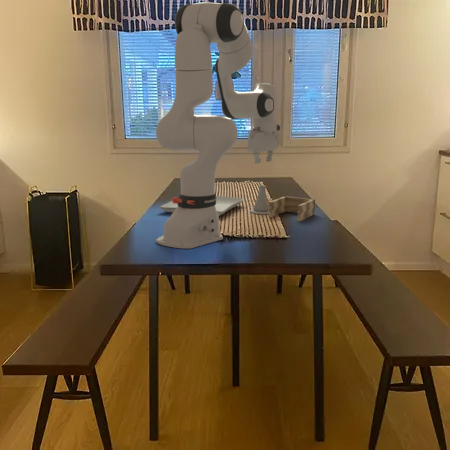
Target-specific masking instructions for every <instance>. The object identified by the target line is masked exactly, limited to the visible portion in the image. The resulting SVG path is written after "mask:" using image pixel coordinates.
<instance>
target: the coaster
mask: <svg viewBox="0 0 450 450" xmlns="http://www.w3.org/2000/svg"><path fill="white" fill-rule="evenodd" d="M249 211H250V213H251V214H254V215H269V211H254V210H253V208H251V209H250V210H249Z"/></svg>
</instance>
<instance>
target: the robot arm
mask: <svg viewBox="0 0 450 450" xmlns="http://www.w3.org/2000/svg"><path fill="white" fill-rule="evenodd" d="M174 16H175V17H174V28H175V31H176V35H177V36H176V38H175V39H176V40H175V46H174V47H175V51H174V69H175V73H174V74H175V96H174V101H173V104H172V106H171V108H170V110H169V111H168V112H167V113H166V114H165V115H164V116H163V117H161V119H160V120H159V121H158V123H157V125H156V129H155V136H156V140H157V142H158V144H159V145H160V146H161V147H162V148H163V149H167V150H173V151H189V152H192V151H193V152H195V151H196V152H198V155H197V158H196V159H195V160H192V161H191V162H188V163H186V164H184V166H183V167H182V168H181V170H180V176H179V178H180V192H179V195H178V197H177V196H176V197H175V196H174V197H172V199H171V201H172V202H173V203H177V205H178V207H177V208H176V210H175V211H174V212H173V213H171V215H170V216H169V217H168V218H167V220H166V221H165V222H164V225H163V235H161V236H159V237H158V238H156V241H155V242H156V243H157V244H159V245H161V246H166V247H170V248H175V249H187V250H188V249H194V248H198V247H200V246H204V245H207V244H211V243H214V242H215V243H216V242H218V241H220V240H221V241H222V240H223V239H224V236H223V235H222V234H221V226H220V217H219V216H218V213H217V211H216V208H215V205H216V196H217V195H216V194H217V193H216V191H215V190H216V189H215V187H216V186H215V185H216V184H215V182H216V172H217V167H218V165H219V162H220V160H221V159H222V157H223V156H224V155H225V154H226V153H227V152H228V151H229V150H231V149H232V148H233V147H234V146H235V145H236V142H237V140H238V136H239V131H238V127H237V124H236V123H235V121H234V120H240V119H251V120H252V127H251V130H250V132H249V134H248V137H247V148H246V149H247V151H248V153H253V154H252V155H253V156H252V157H253V158H254V164H256V165H259V164H261V160H262V159H261V158H260V153H261V152H267V155H266V158H265V160H266V162H269V163H270V162H272V160H273V156H274V151H275V150H276V151H277V150H278V149H279V147H280V140H281V138H280V137H281V135H280V131H281V130H282V128H281V127H282V126H281V125H280V124H279V123H278V122H276V119H277V118H276V108H277V97H276V96H277V94H276V87H275V85H273V84H272V83H267V82H258V83H256V84H255V86H254V90H252V91H236V90H235V88H234V83H233V79H232V74H234V73H235V72H238V71H241V70H243V69H244V68H245V67H246V66H247V65H248V64H249V62H250V61H251V59H252V57H253V54H254V51H253V50H254V48H253V43H252V39H251V37H250V33H249V30H248V28H247V26H246V24H245V21H244V19H245V18H244V14H243V12H242V10H241V9H240V8H239V7H238V5H235V4H232V3H229V2H224V3H219V2H209V1H206V2H205V1H204V2H198V3H196V2H195V3H186V4H184V5H182V6H180V7H179V8H178V9H177V11H176V14H175V15H174ZM214 43H215V44H216V47H217V50H218V53H219V55H218V57H217V58H216V61H215V72H216V78H217V85H218V88H219V94H220V98H221V99H220V100H221V110H222V113H223V114H224V116H222V115H217V114H216V115H215V114H214V115H213V114H212V115H210V114H209V115H207V114H206V115H205V114H204V115H199V114H198V115H197V114H195V108H197V107H199V106H200V105H202V104H204V103H206V102H207V101H208V100H210V99H211V98H212V95H213V93H214V89H213V86H214V82H213V79H214V78H213V61H212V51H211V44H214Z"/></svg>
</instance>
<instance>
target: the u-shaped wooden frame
mask: <svg viewBox="0 0 450 450" xmlns="http://www.w3.org/2000/svg"><path fill="white" fill-rule="evenodd" d="M268 203H269V214H268V218H273V217H276V216H278V215H280V214H283V213H285V212H289V213H296V214H297V215H296V216H297V220H296V221H297V222H302V221H304V220H306V219H308V218H310V217H312V216H314V215H315V208H316V199H314V198H312V199H311V198H303V197H295V196H287V195H285V196H281V197H280V198H276V199H273V200H271V201H268Z"/></svg>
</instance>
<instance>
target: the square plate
mask: <svg viewBox="0 0 450 450" xmlns="http://www.w3.org/2000/svg"><path fill="white" fill-rule="evenodd" d="M244 200H245V198H241V197H233V196H223V195H216V205H215V208H216V211H217V213H218V216H223V215H224V214H225V213H227V212H229V211H230V210H231V209H233V208H235V207H237V206H239V205H240V204H241V203H242V202H243V201H244ZM177 207H178V205H177V203H173V202H172V200H170V201H169V202H166V203H165V204H162V205H161V206H159V208H160V209H161V210H163V211H164V212H168V213H171V214H172V213H173V212H174V211H175V210H176V208H177Z"/></svg>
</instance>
